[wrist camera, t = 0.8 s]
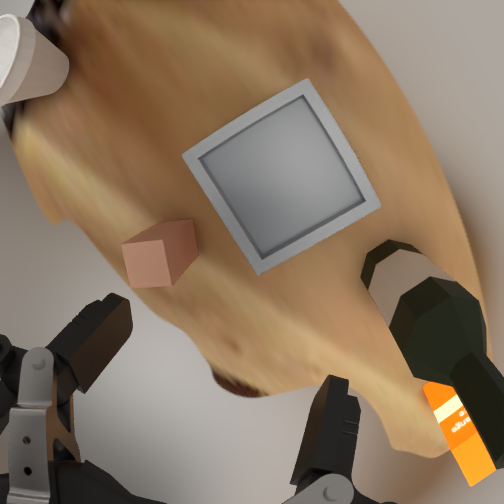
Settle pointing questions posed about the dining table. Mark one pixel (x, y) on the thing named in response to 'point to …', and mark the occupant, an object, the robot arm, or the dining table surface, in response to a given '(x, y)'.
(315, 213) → the grey square tray
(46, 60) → the cup
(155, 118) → the dining table surface
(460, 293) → the wine bottle
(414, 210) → the dining table surface
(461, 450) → the orange juice
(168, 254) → the terracotta block
